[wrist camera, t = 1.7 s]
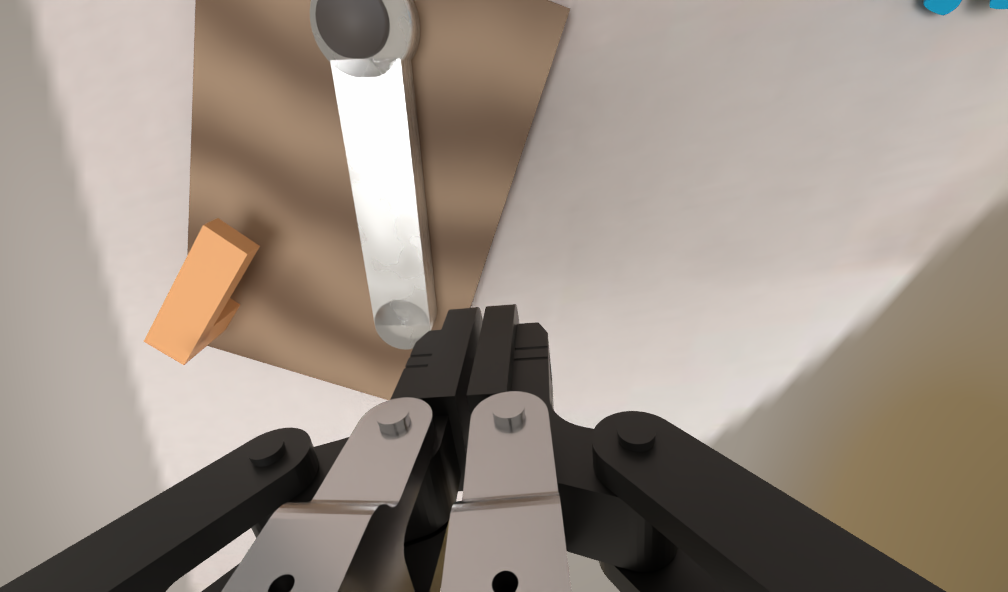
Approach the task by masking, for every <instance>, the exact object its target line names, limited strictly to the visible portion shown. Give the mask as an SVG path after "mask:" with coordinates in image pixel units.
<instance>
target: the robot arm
mask: <svg viewBox="0 0 1008 592" xmlns="http://www.w3.org/2000/svg"><path fill="white" fill-rule="evenodd" d="M458 491H463V497H462V501H457V502H456V499H457V493H458ZM250 528H252V530H253V532H254V534H255V536H256V540H255V541H254V543H253V544H252V546H251V547H250V549H249V550H248V552H247V553H246V555H245V556H244V558H243V559H242V561H241V563H239V564H238V565H237V566H235V567H234V568H233V569H231V570H230V571H229V572H227V573H226V574H225V575H223V576H222V577H221V578H219V579H218V580H217V581H215V582H214V583H212V584H211V585H210V586H208V587H207V588H206V589H204V590H203V591H202V592H440V590H441V592H572V590H571V582H570V574H569V567H568V558H567V551H568V552H571V553H574V554H578V555H581V556H585V557H588V558H591V559H594V560H598V561H599V563H600V566H601V569H602V570H603V572H604V574H605V575H606V576H607V578H608V579H609V580H610V581H611V582H612V583H613V584H614V585H615V586H616V587H617V588H618V589H619V591H620V592H946V591H944V590H943V589H941V588H939V587H938V586H936V585H934V584H933V583H931V582H929V581H928V580H926V579H925V578H923V577H921V576H919V575H918V574H916V573H915V572H913V571H911V570H910V569H908V568H907V567H905V566H903V565H902V564H900V563H898V562H897V561H895V560H894V559H892V558H890V557H888V556H887V555H885V554H884V553H882V552H880V551H879V550H877V549H875V548H874V547H872V546H870V545H869V544H867V543H866V542H864V541H862V540H861V539H859V538H857V537H856V536H854V535H853V534H851V533H849V532H848V531H846V530H844V529H843V528H841V527H840V526H838V525H836V524H835V523H833V522H831V521H830V520H828V519H826V518H825V517H823V516H822V515H820V514H818V513H817V512H815V511H813V510H812V509H810V508H808V507H807V506H805V505H804V504H802V503H800V502H799V501H797V500H795V499H794V498H792V497H791V496H789V495H787V494H786V493H784V492H782V491H781V490H779V489H777V488H776V487H774V486H772V485H771V484H769V483H768V482H766V481H764V480H763V479H761V478H759V477H758V476H756V475H755V474H753V473H751V472H750V471H748V470H746V469H745V468H743V467H742V466H740V465H738V464H737V463H735V462H733V461H732V460H730V459H728V458H727V457H725V456H724V455H722V454H720V453H719V452H717V451H715V450H714V449H712V448H710V447H709V446H707V445H706V444H704V443H702V442H701V441H699V440H697V439H696V438H694V437H692V436H691V435H689V434H688V433H686V432H684V431H683V430H681V429H679V428H678V427H676V426H675V425H673V424H671V423H670V422H668V421H666V420H665V419H663V418H661V417H659V416H656V415H653V414H650V413H646V412H639V411H626V412H620V413H615V414H613V415H610V416H608V417H606V418H604V419H603V420H601V421H600V422H599V423H598V424H597V425H596V427H595V429H591V428H586V427H581V426H577V425H574V424H572V423H569V422H567V421H565V420H564V419H562V418H561V417H559V416H558V415H557V414H556V413H555V411H554V409H553V385H552V375H551V364H550V353H549V342H548V333H547V332H546V330H545V329H544V328H543V327H542V326H541V325H540V324H539V323H525V324H519V318H518V311H517V306H516V304H513V305H500V306H488V307H486V309H485V313H484V318H483V321H482V315H481V311H480V308H479V307H476V308H463V309H450V310H448V313H447V315H446V318H445V321H444V323H443V326H442V329H441V330H431V331H428V332H427V333H426V334H425V335H423V336H422V337H421V338H420V339H419V340H418V341H417V342H416V343H415V345H414V347H413V350H412V352H411V354H410V358H409V359H408V361H407V363H406V365H405V368H404V370H403V372H402V374H401V377H400V379H399V381H398V383H397V385H396V388H395V390H394V392H393V394H392V397H391V399H390V400H388V401H386V402H383V403H381V404H379V405H377V406H375V407H373V408H372V409H370V410H369V411H368V412H367V413H365V415H364V416H363V417H362V418H361V419H360V421H359V422H358V424H357V425H356V427H355V429H354V430H353V432H352V434H351V436H350V437H348V438H345V439H341V440H338V441H334V442H330V443H327V444H323V445H320V446H316V447H313V444H312V442H311V439H310V437H309V435H308V434H307V433H306V432H305V431H303V430H301V429H298V428H282V429H277V430H273V431H270V432H267V433H264V434H262V435H260V436H258V437H256V438H254V439H252V440H250V441H249V442H247V443H245V444H244V445H242V446H240V447H239V448H237V449H235V450H233V451H232V452H230V453H228V454H227V455H225V456H223V457H222V458H220V459H218V460H216V461H215V462H213V463H211V464H210V465H208V466H206V467H205V468H203V469H201V470H200V471H198V472H196V473H194V474H193V475H191V476H189V477H188V478H186V479H184V480H183V481H181V482H179V483H177V484H176V485H174V486H172V487H171V488H169V489H167V490H166V491H164V492H162V493H160V494H159V495H157V496H155V497H154V498H152V499H150V500H149V501H147V502H145V503H143V504H142V505H140V506H138V507H137V508H135V509H133V510H132V511H130V512H129V513H127V514H125V515H123V516H121V517H120V518H118V519H116V520H115V521H113V522H111V523H109V524H108V525H106V526H104V527H103V528H101V529H99V530H98V531H96V532H94V533H92V534H91V535H90V536H87V537H86V538H84V539H82V540H81V541H79V542H77V543H76V544H74V545H72V546H70V547H69V548H67V549H65V550H64V551H62V552H60V553H58V554H57V555H55V556H53V557H52V558H50V559H48V560H47V561H45V562H43V563H42V564H40V565H38V566H36V567H35V568H33V569H31V570H30V571H28V572H26V573H25V574H23V575H21V576H20V577H18V578H16V579H14V580H13V581H11V582H9V583H8V584H6V585H4V586H2V587H1V588H0V592H166V590H167V589H168V588H169V587H170V586H171V585H172V584H173V583H174V582H175V581H177V580H178V579H179V578H181V577H182V576H184V575H185V574H186V573H188V572H189V571H191V570H192V569H193V568H195V567H196V566H198V565H199V564H200V563H202V562H203V561H205V560H206V559H208V558H209V557H210V556H212V555H213V554H215V553H216V552H217V551H219V550H220V549H222V548H223V547H225V546H226V545H227V544H229V543H230V542H232V541H233V540H234V539H236V538H237V537H239V536H240V535H241V534H243V533H244V532H246V531H247V530H249V529H250Z"/></svg>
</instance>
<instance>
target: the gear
mask: <svg viewBox="0 0 1008 592" xmlns="http://www.w3.org/2000/svg"><path fill="white" fill-rule="evenodd" d="M961 1H962V0H924V4H923V5H924V6H925V7H926V8H927V9H928V10H930V11H932V12H934V13H937V14H940V15H946V14H948V13H950V12H951V11H953V10H954V9H956V8H957V7H958V5H959V4H960V3H961ZM990 8H994V9H1008V0H990Z"/></svg>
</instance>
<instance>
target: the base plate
mask: <svg viewBox="0 0 1008 592" xmlns="http://www.w3.org/2000/svg"><path fill="white" fill-rule="evenodd" d="M413 2H414V4H415V6H416V9H417V12H418V16H419V21H420V39H419V44H418V48H417V51H416V53H415V55H414V57H413V58H412V60H411V64H412V74H413V84H414V93H415V103H416V113H417V122H418V132H419V142H420V151H421V161H422V170H423V180H424V190H425V199H426V209H427V219H428V228H429V238H430V248H431V257H432V267H433V277H434V286H435V296H436V306H437V316H436V319H435V322H434V324H433V327H432V329H431V330H441V329H442V326H443V323H444V321H445V318H446V315H447V313H448V310H450V309H463V308H470V306H471V303H472V300H473V297H474V294H475V291H476V288H477V285H478V282H479V279H480V276H481V274H482V271H483V268H484V265H485V262H486V259H487V256H488V253H489V250H490V247H491V244H492V241H493V238H494V235H495V232H496V229H497V226H498V223H499V220H500V217H501V214H502V211H503V208H504V205H505V202H506V199H507V196H508V193H509V190H510V187H511V184H512V181H513V178H514V175H515V172H516V169H517V166H518V163H519V160H520V157H521V154H522V151H523V148H524V145H525V142H526V139H527V136H528V133H529V130H530V127H531V124H532V121H533V118H534V115H535V112H536V109H537V106H538V103H539V100H540V97H541V94H542V91H543V88H544V85H545V82H546V79H547V76H548V74H549V71H550V68H551V65H552V62H553V59H554V56H555V53H556V50H557V47H558V44H559V41H560V38H561V35H562V32H563V29H564V26H565V23H566V20H567V17H568V14H569V11H570V8H567V7H564V6H562V5H559V4H556V3H554V2H551V1H548V0H413ZM310 3H311V0H196V7H195V38H194V69H193V101H192V132H191V163H190V195H189V226H188V254H189V252H190V250H191V248H192V246H193V244H194V242H195V240H196V238H197V236H198V234H199V232H200V230H201V228H202V226H203V225H204V224H206V223H208V222H210V221H213V220H215V219H217V218H219V219H220V220H222V221H223V222H225V223H226V224H228V225H229V226H231V227H232V228H234V229H235V230H237V231H238V232H240V233H241V234H243V235H244V236H246V237H247V238H249V239H250V240H252V241H253V242H255V243H256V244H258V245H259V246H260V247H259V249H258V250H257V252H256V254H255V256H254V257H253V259H252V261H251V262H250V264H249V266H248V268H247V269H246V271H245V273H244V275H243V276H242V278H241V280H240V281H239V283H238V285H237V287H236V288H235V290H234V292H233V293H232V295H231V297H230V298H231V299H232V300H234V301H235V302H237V303H239V304H240V306H239V308H238V310H237V311H236V313H235V315H234V316H233V318H232V320H231V321H230V323H229V325H228V326H227V328H226V330H225V331H224V332H223V333H221V334H220V335H219V336H218V337H217V338H215V339H214V340H213V341H212V342H211V343H210V344H208V345H207V346H210V347H214V348H217V349H220V350H223V351H227V352H230V353H233V354H237V355H240V356H243V357H247V358H250V359H253V360H257V361H260V362H263V363H267V364H270V365H273V366H277V367H280V368H283V369H287V370H290V371H293V372H297V373H300V374H303V375H307V376H310V377H313V378H317V379H320V380H323V381H326V382H330V383H333V384H336V385H340V386H343V387H346V388H350V389H353V390H356V391H360V392H363V393H366V394H370V395H373V396H376V397H380V398H383V399H386V400H390V399H391V397H392V394H393V392H394V390H395V388H396V385H397V383H398V381H399V379H400V377H401V374H402V372H403V370H404V368H405V365H406V363H407V361H408V359H409V358H410V354H411V352H412V350H413V349H398V348H395V347H393V346H391V345H389V344H387V343H386V342H385V341H383V340H382V338H381V337H380V336H379V335H378V333H377V331H376V328H375V323H374V317H373V311H372V305H371V299H370V293H369V288H368V282H367V276H366V270H365V264H364V258H363V252H362V246H361V240H360V234H359V228H358V222H357V216H356V210H355V205H354V199H353V193H352V187H351V181H350V175H349V169H348V163H347V157H346V151H345V145H344V139H343V133H342V127H341V122H340V116H339V110H338V104H337V98H336V92H335V86H334V80H333V74H332V68H331V63H330V62H329V61H328V60H327V58H326V57H325V56H324V55H323V53H322V52H321V50H320V48H319V47H318V45H317V43H316V41H315V38H314V35H313V32H312V28H311V22H310ZM315 15H316V24H317V27H318V30H319V33H320V35H321V37H322V39H323V40H324V42H325V43H326V44H327V46H328V47H329V48H330V49H331V50H333V51H334V52H335V53H337V54H339V55H341V56H343V57H346V58H354V59H365V58H370V57H372V56H374V55H376V54H377V53H379V52H380V51H381V50H382V48H383V47H384V46H385V44H386V42H387V39H388V36H389V31H390V22H389V16H388V12H387V9H386V7H385V5H384V3H383V2H382V0H318V1H317V5H316V12H315Z"/></svg>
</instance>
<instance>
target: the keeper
mask: <svg viewBox="0 0 1008 592" xmlns="http://www.w3.org/2000/svg"><path fill="white" fill-rule="evenodd" d="M259 247H260V246H259V245H258V244H256V243H255V242H253V241H252V240H250V239H249V238H247V237H246V236H244V235H243V234H241V233H240V232H238V231H237V230H235V229H234V228H232V227H231V226H229V225H228V224H226V223H225V222H223V221H222V220H220V219H219V218H217V219H215V220H213V221H210V222H208V223H206V224H204V225H203V226H202V228H201V230H200V232H199V234H198V236H197V238H196V240H195V242H194V244H193V246H192V248H191V250H190V252H189V254H188V256H187V258H186V260H185V262H184V264H183V266H182V268H181V269H180V271H179V273H178V275H177V277H176V279H175V281H174V283H173V285H172V287H171V289H170V291H169V293H168V295H167V297H166V299H165V301H164V303H163V305H162V307H161V309H160V311H159V313H158V315H157V317H156V319H155V320H154V322H153V324H152V326H151V328H150V330H149V332H148V334H147V336H146V338H145V340H144V342H145V343H147V344H149V345H151V346H152V347H154V348H156V349H157V350H159V351H161V352H162V353H164V354H166V355H168V356H169V357H171V358H173V359H174V360H176V361H178V362H179V363H181V364H183V365H185V364H186V363H187V362H188V361H189V360H191V359H192V358H193V357H194V356H195V355H196V354H198V353H199V352H200V351H201V350H202V349H204V348H205V347H206V346H207V345H208V344H210V343H211V342H212V341H213V340H214V339H215V338H217V337H218V336H219V335H220V334H221V333H223V332H224V331H225V330H226V328H227V326H228V325H229V323H230V321H231V320H232V318H233V316H234V315H235V313H236V311H237V310H238V308H239V306H240V304H239V303H237V302H235V301H234V300H232V299H231V298H230V297H231V295H232V293H233V292H234V290H235V288H236V287H237V285H238V283H239V281H240V280H241V278H242V276H243V275H244V273H245V271H246V269H247V268H248V266H249V264H250V262H251V261H252V259H253V257H254V256H255V254H256V252H257V250H258V249H259Z"/></svg>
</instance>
